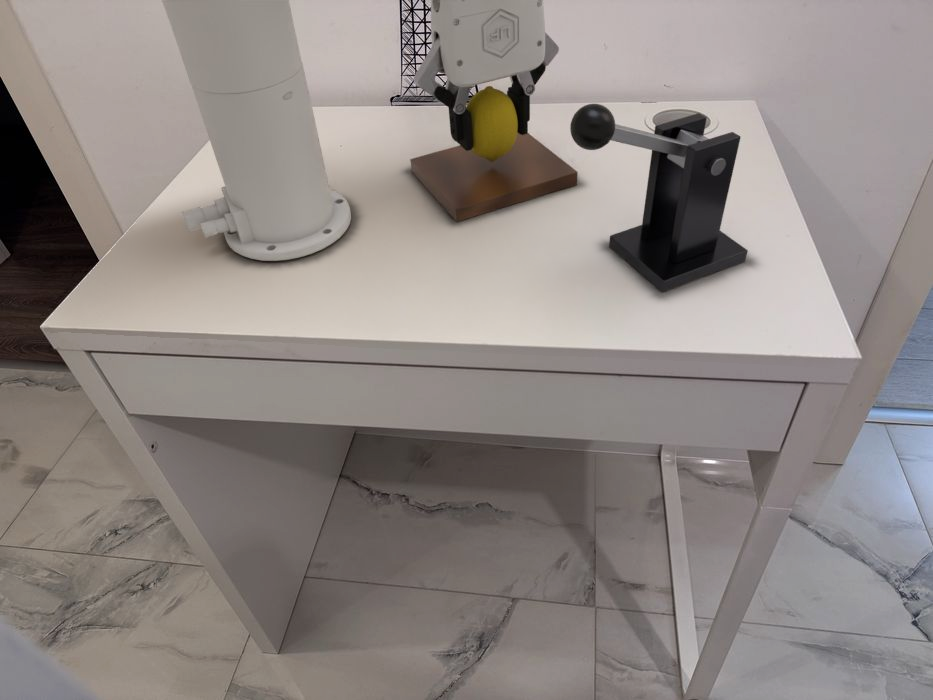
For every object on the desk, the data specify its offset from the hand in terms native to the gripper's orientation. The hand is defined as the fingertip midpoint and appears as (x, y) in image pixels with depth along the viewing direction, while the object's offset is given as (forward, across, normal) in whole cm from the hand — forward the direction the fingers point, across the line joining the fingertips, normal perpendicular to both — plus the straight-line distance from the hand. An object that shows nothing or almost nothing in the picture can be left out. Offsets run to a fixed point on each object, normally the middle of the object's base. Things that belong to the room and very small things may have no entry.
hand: (491, 135), depth 71 cm
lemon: (+3, 0, 0) cm, 3 cm away
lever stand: (+5, +8, -21) cm, 23 cm away
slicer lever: (-6, +2, -21) cm, 22 cm away
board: (+5, 0, 0) cm, 5 cm away
